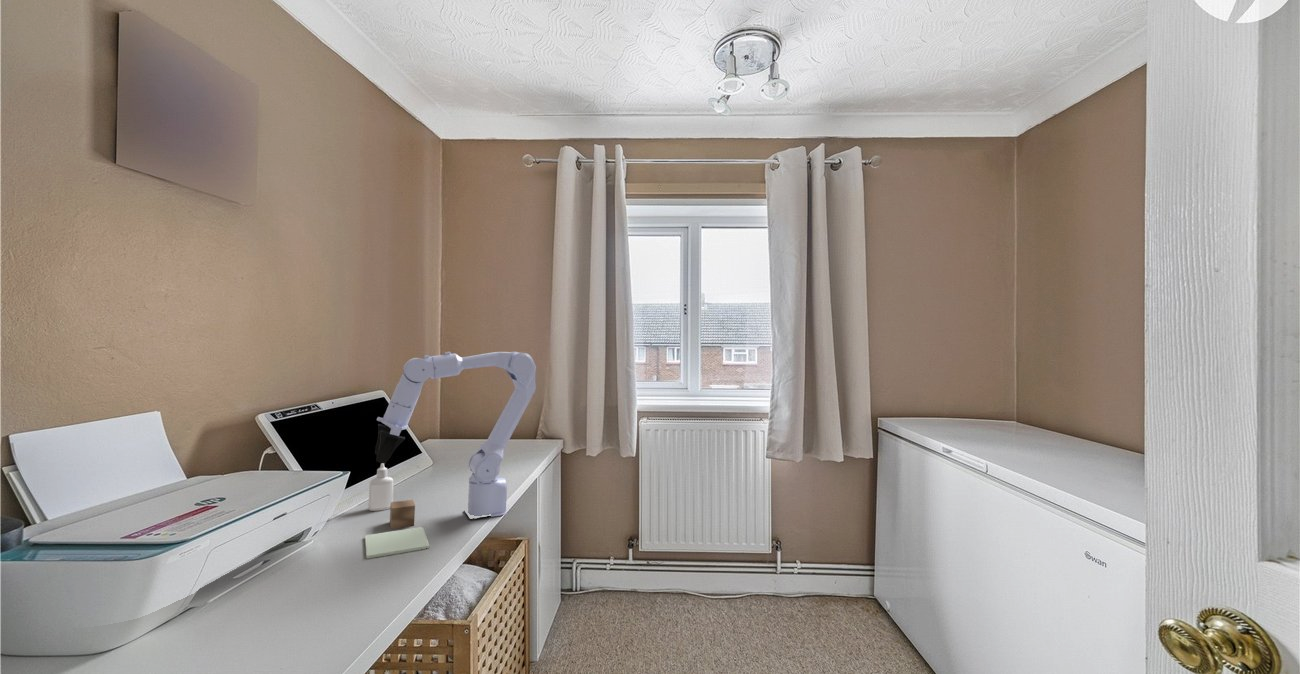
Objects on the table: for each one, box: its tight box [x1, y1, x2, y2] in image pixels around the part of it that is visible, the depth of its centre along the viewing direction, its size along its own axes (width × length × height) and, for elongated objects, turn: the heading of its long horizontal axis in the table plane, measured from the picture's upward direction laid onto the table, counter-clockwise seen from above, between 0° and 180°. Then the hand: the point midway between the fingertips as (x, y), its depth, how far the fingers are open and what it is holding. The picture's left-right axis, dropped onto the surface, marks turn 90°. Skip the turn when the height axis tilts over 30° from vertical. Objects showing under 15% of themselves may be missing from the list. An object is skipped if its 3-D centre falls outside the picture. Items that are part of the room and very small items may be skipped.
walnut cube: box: [389, 499, 416, 530], centre depth 122 cm, size 5×5×5 cm
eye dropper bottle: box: [368, 463, 394, 512], centre depth 132 cm, size 4×6×12 cm
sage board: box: [364, 526, 430, 560], centre depth 110 cm, size 12×12×1 cm
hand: (380, 458), depth 119 cm, fingers open, 7 cm apart
